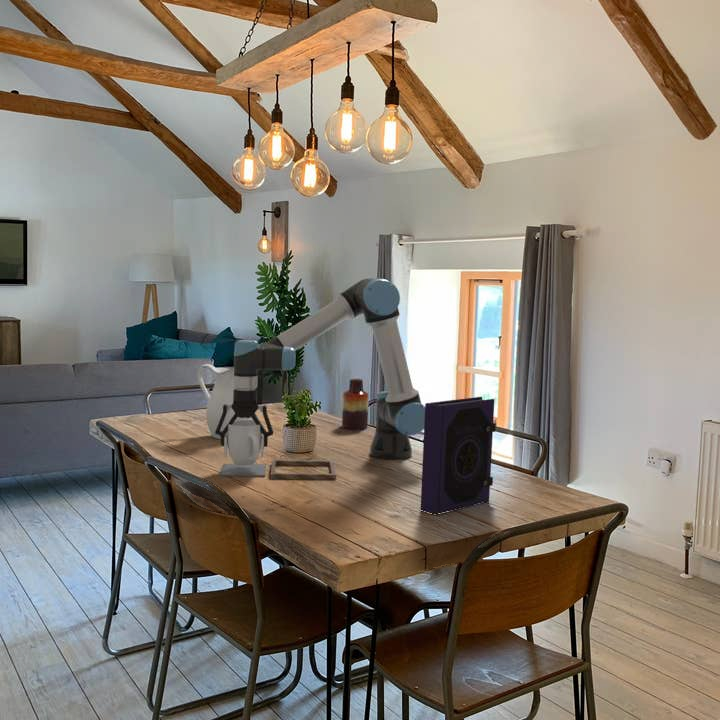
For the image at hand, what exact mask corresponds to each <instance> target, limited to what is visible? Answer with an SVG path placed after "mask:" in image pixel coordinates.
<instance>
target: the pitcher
mask: <svg viewBox="0 0 720 720" xmlns="http://www.w3.org/2000/svg"><path fill="white" fill-rule="evenodd" d="M206 369H208V370H210V371H211V373H212V374H213V376H214V379H215V382H214V386H213V388H212V390H211V393H209V391H208V389H207V387H206V386H205V385H206V384H205V383H204V379H203V378H204V377H203V373H204V371H205V370H206ZM196 373H197V374H196V378H197V381H198V385H199V386H200V389H201V391H202V393H203V394H204V396H205V397H206V400H207V404H206V411H205V419H206V420H205V422H206V425H207V428H208V430H209V432H210V435H212V437H213V438H214V439H218V440H221V436H220V435H218V434H215V431H216V429H217V426H218V424H219V421H220V418H221V416H222V413H223V406H224V404H227V405H232V404H233V390H234V389H235V388H234V367H233V368H226V367H215V366H214V365H212V364H209V363H206V364H203V365H201V366H200V367H199V368H198V370H197V372H196ZM234 414H235V412H234V411H233V409H232V408H231V409H230V410H229V411H228V412H227V414H226V416H225V419H224V422H223V424H222V427H221V429H220V431H223V430H224V428H225V427H226V426H227V423H228V422H229V421H230V420H231V418H232V417H233V416H234ZM236 420H251V418H245V417H244V418H239V417H237V419H236ZM236 420H235V421H236ZM225 435H227V433H226V434H225Z"/></svg>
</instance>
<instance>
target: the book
mask: <svg viewBox="0 0 720 720" xmlns="http://www.w3.org/2000/svg"><path fill="white" fill-rule="evenodd" d="M424 404H425V405H424V406H425V421H424V429H423V449H422V471H421V489H420V491H421V495H420V511H421V510H423V511H426V512H429V513H432V514H438V513H442V512H446V511H451V510H455V509H459V508H462V509H464V508H463V507H466V508H468V507H467V506H470V507H472V506H471V505H474V504H478V503H481V504H483V503H482V502H485V503H488V502H487V501H489V502H490V495H491V494H490V493H491V492H490V491H491V486H493V484H494V483H493V482H494V477H493V476H491V472H492V456H493V455H492V453H493V438H494V437H493V435H494V433H496V429H497V423H494V419H495V417H494V416H495V415H494V414H495V398H489V399H488V398H487V399H483V396H475V397H474V396H473V397H468V398H467V397H466V398H465V397H464V398H459V399H458V398H457V399H451V400H449V399H448V400H441V401H435V402H426V403H424ZM478 505H479V504H478ZM474 506H475V505H474ZM459 510H460V509H459ZM423 511H422V512H423ZM455 511H456V510H455ZM451 512H452V511H451Z"/></svg>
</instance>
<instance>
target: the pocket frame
mask: <svg viewBox="0 0 720 720" xmlns="http://www.w3.org/2000/svg"><path fill="white" fill-rule="evenodd" d="M276 466H301V467H302V466H304V467H305V466H308V467H309V466H310V467H311V466H312V467H313V466H314V467H315V466H317V467H329V471H330V473H307V472H306V473H304V472H303V473H301V472H300V473H298V472H297V473H296V472H294V473H292V472H290V473H289V472H276ZM276 479H277V480H282V479H283V480H337V472H336V468H335V462H334V460H316V459H315V460H313V459H312V460H311V459H310V460H309V459H308V460H306V459H304V460H303V459H302V460H301V459H300V460H298V459H295V460H293V459H272V460H271V467H270V480H276Z"/></svg>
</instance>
